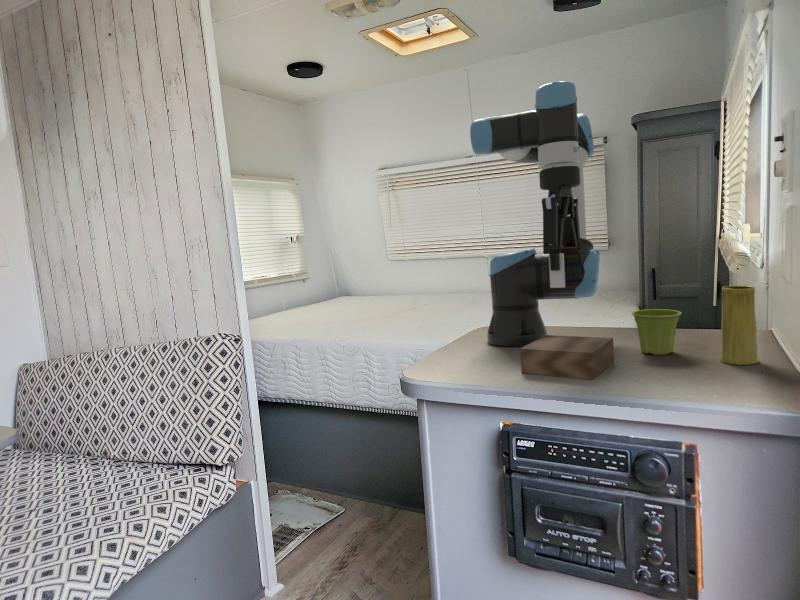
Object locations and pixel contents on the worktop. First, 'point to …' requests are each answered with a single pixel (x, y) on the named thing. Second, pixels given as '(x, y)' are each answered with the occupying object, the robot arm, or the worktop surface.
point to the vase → (738, 326)
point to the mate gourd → (571, 268)
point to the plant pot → (656, 330)
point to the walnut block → (567, 356)
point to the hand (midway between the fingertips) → (564, 284)
